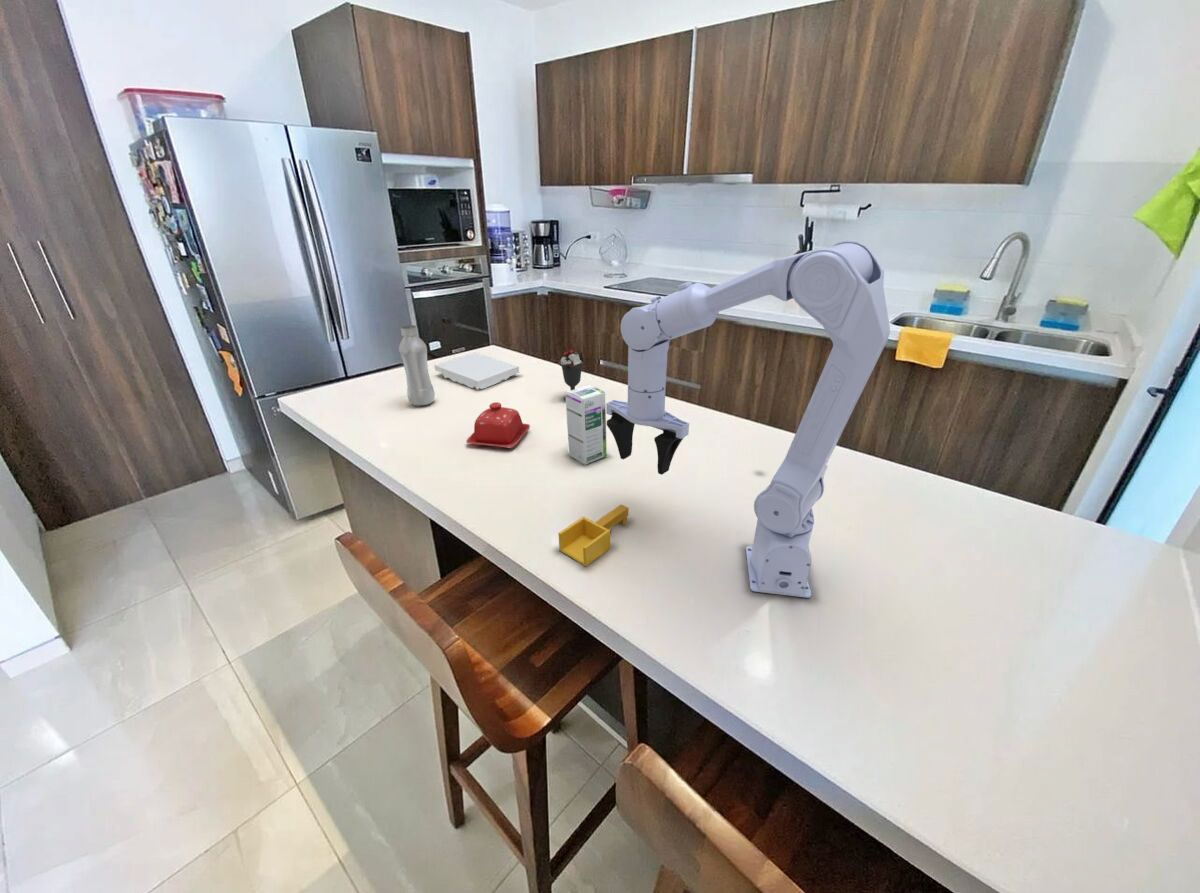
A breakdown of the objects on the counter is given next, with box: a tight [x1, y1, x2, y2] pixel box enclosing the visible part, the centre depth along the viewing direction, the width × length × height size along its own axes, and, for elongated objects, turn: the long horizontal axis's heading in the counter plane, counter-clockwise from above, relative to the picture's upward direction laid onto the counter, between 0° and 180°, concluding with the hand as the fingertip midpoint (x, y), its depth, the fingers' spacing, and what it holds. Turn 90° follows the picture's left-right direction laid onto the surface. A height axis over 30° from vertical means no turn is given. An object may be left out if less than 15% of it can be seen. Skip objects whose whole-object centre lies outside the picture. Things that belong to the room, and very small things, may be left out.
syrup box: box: [564, 384, 607, 466], centre depth 100 cm, size 6×6×14 cm
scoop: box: [557, 504, 629, 567], centre depth 78 cm, size 13×6×3 cm, turn 139°
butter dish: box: [466, 401, 531, 448], centre depth 109 cm, size 12×12×8 cm
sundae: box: [558, 344, 585, 402], centre depth 128 cm, size 7×7×15 cm
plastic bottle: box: [398, 324, 436, 406], centre depth 125 cm, size 6×7×20 cm
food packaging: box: [434, 351, 520, 391], centre depth 147 cm, size 15×3×20 cm
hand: (644, 464), depth 81 cm, fingers open, 7 cm apart
